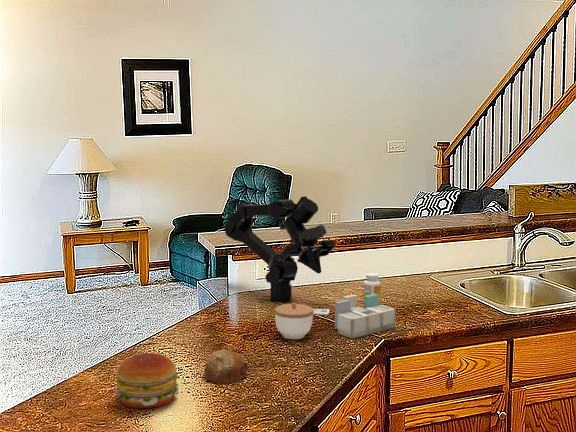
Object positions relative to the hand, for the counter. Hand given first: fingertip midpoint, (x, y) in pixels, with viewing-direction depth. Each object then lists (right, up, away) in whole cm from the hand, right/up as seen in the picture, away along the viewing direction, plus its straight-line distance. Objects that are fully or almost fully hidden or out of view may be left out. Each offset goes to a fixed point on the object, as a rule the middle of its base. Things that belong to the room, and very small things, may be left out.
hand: (319, 272), depth 218 cm
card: (-1, -12, +2) cm, 13 cm away
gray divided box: (+13, -15, -16) cm, 25 cm away
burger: (-40, -23, -65) cm, 79 cm away
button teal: (+16, -14, -11) cm, 24 cm away
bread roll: (-24, -21, -50) cm, 60 cm away
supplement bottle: (+17, -11, +13) cm, 24 cm away
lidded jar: (-8, -16, -21) cm, 28 cm away
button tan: (+10, -14, -12) cm, 21 cm away
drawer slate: (+7, -14, -18) cm, 24 cm away
